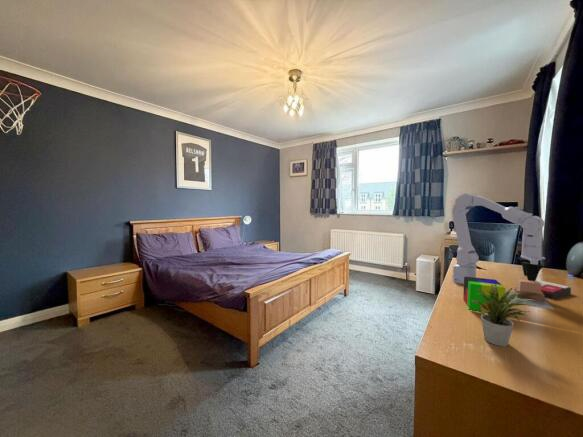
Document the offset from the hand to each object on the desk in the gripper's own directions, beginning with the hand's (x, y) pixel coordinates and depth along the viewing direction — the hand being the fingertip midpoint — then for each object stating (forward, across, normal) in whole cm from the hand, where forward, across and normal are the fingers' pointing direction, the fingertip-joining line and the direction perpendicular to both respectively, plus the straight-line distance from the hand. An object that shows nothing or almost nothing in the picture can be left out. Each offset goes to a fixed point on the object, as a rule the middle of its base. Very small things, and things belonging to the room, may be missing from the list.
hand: (529, 278), depth 100 cm
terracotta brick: (+5, 0, 0) cm, 5 cm away
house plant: (+8, -51, +14) cm, 54 cm away
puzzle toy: (+9, -23, +16) cm, 29 cm away
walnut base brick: (+8, 0, 0) cm, 8 cm away
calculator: (+9, +12, -7) cm, 16 cm away
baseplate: (+8, -4, +5) cm, 10 cm away
